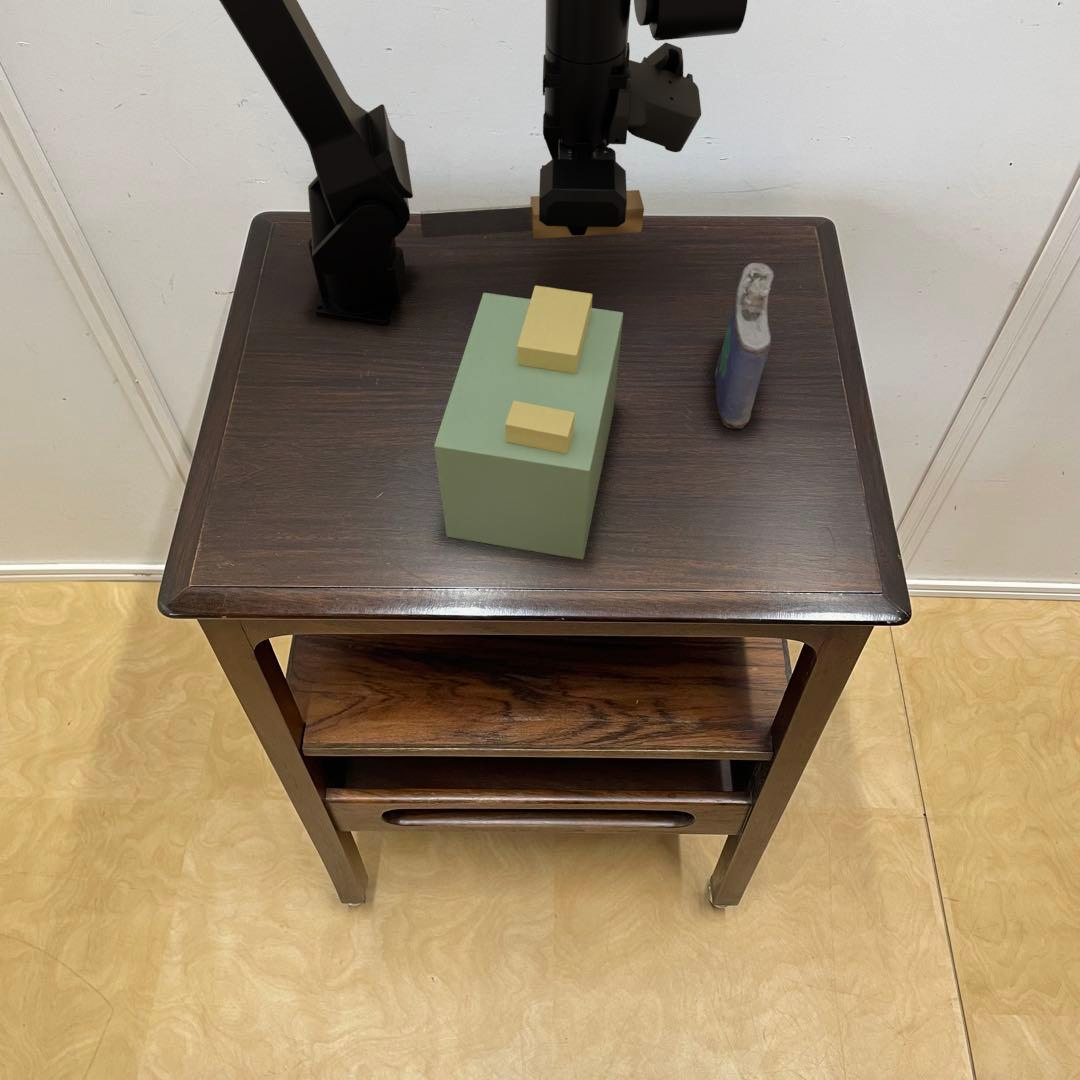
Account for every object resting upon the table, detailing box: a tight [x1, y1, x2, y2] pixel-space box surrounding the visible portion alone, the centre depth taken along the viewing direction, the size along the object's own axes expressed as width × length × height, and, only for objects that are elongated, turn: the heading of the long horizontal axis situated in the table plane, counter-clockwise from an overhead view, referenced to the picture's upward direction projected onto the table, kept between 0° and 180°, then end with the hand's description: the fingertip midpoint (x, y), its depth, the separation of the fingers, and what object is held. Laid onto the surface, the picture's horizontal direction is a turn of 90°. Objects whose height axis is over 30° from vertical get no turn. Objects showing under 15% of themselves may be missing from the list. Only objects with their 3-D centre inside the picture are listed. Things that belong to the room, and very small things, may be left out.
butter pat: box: [505, 401, 575, 454], centre depth 62 cm, size 4×2×2 cm, turn 76°
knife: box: [419, 189, 645, 240], centre depth 81 cm, size 18×2×2 cm, turn 96°
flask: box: [714, 262, 775, 429], centre depth 75 cm, size 9×3×11 cm, turn 172°
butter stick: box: [517, 285, 593, 374], centre depth 67 cm, size 4×6×2 cm
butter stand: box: [433, 292, 624, 560], centre depth 70 cm, size 10×14×11 cm
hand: (578, 222), depth 82 cm, fingers closed on knife, 2 cm apart
